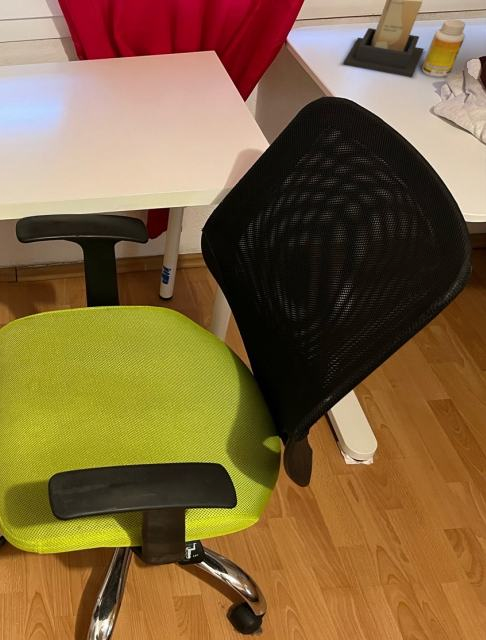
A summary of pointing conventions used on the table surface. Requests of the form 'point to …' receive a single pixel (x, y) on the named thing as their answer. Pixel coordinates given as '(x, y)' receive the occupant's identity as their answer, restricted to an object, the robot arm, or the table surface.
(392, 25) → the cosmetic box
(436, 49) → the supplement bottle
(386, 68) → the dark grey box holder
